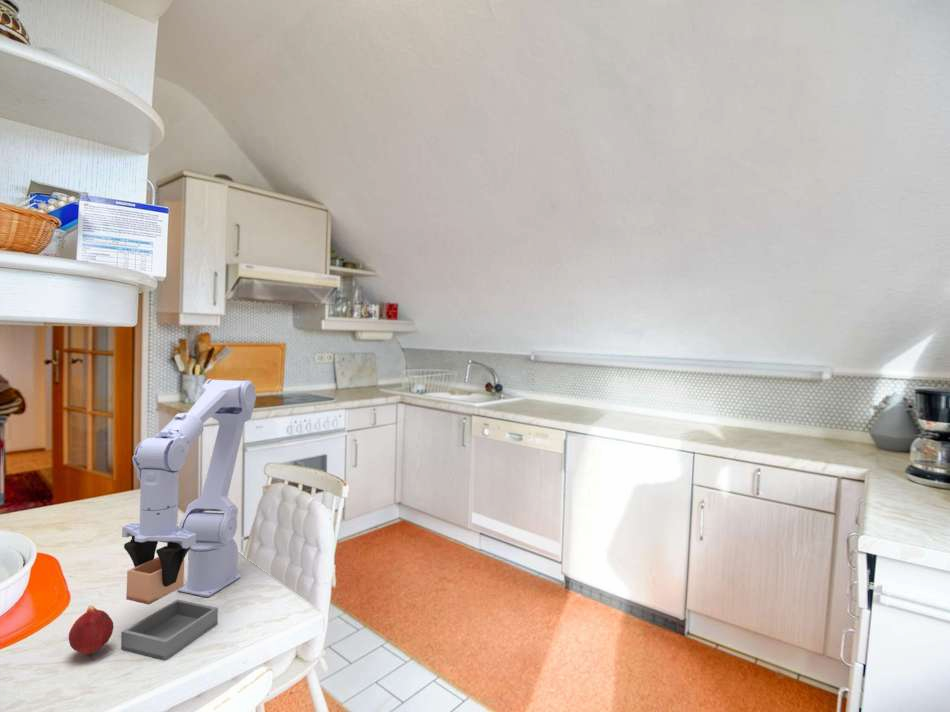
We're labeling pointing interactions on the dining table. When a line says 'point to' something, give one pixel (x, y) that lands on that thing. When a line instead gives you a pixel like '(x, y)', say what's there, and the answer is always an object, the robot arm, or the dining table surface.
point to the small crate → (150, 582)
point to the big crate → (169, 629)
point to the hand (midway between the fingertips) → (157, 581)
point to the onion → (91, 631)
